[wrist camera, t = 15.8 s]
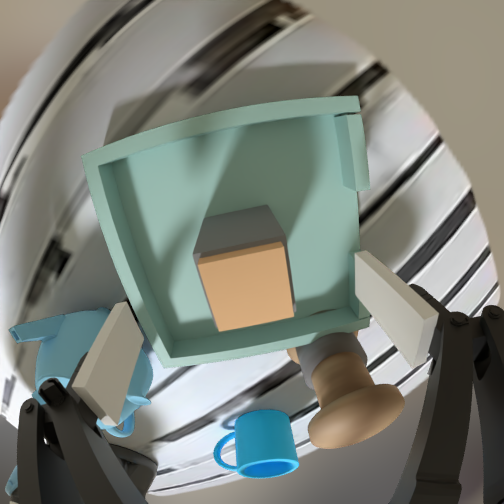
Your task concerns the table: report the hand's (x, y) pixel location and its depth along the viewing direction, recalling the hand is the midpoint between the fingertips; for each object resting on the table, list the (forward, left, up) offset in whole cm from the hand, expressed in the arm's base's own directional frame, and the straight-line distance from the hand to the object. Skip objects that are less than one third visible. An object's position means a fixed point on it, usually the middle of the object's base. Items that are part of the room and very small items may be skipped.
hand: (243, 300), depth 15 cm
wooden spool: (+6, -12, -9) cm, 16 cm away
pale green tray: (0, 0, -9) cm, 9 cm away
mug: (-5, -29, -9) cm, 30 cm away
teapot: (-18, -8, -9) cm, 21 cm away
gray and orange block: (0, 0, -8) cm, 8 cm away
